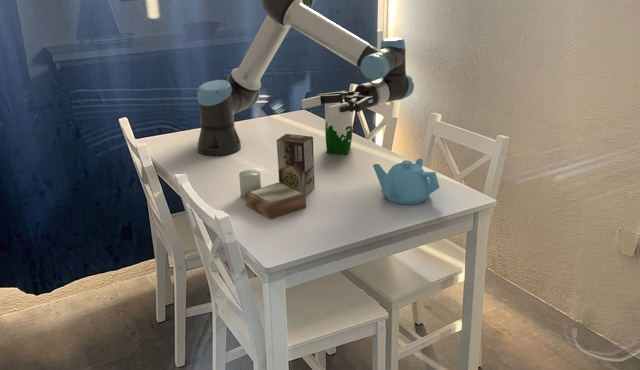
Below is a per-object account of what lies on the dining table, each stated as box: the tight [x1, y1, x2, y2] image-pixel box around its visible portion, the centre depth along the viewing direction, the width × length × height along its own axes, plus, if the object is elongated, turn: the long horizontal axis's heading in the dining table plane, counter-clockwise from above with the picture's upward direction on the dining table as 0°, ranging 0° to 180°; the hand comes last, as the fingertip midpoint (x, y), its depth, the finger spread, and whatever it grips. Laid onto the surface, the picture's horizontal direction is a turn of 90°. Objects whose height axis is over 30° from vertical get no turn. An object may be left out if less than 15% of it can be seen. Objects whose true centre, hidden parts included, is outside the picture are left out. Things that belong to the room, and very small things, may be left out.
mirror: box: [245, 181, 307, 220], centre depth 176 cm, size 12×12×4 cm
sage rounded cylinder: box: [238, 169, 262, 201], centre depth 183 cm, size 6×6×7 cm
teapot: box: [372, 158, 440, 206], centre depth 180 cm, size 15×15×11 cm
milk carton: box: [324, 100, 353, 155], centre depth 216 cm, size 9×9×20 cm
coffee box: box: [276, 133, 315, 196], centre depth 185 cm, size 9×6×16 cm
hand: (315, 108), depth 185 cm, fingers open, 13 cm apart
